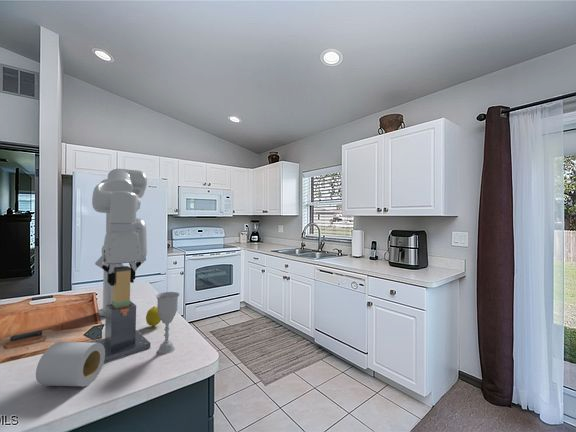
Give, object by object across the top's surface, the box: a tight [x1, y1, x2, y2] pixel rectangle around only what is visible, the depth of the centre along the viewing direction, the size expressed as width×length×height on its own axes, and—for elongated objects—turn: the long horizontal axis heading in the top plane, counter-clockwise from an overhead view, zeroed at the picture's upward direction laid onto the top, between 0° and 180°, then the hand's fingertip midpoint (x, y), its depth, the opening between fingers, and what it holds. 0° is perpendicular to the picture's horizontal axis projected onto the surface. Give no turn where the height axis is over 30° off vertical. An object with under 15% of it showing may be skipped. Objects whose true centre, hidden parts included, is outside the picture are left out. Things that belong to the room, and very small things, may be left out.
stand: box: [89, 301, 151, 364], centre depth 88 cm, size 14×14×14 cm
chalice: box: [155, 291, 180, 354], centre depth 88 cm, size 7×7×18 cm
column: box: [112, 265, 132, 309], centre depth 88 cm, size 4×4×19 cm
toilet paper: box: [35, 341, 105, 387], centre depth 70 cm, size 10×10×10 cm
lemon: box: [145, 305, 162, 328], centre depth 105 cm, size 6×6×8 cm
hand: (121, 282), depth 88 cm, fingers open, 5 cm apart
